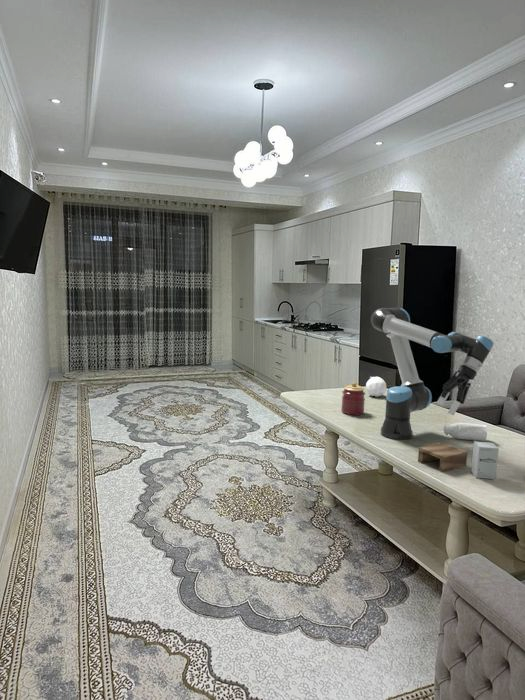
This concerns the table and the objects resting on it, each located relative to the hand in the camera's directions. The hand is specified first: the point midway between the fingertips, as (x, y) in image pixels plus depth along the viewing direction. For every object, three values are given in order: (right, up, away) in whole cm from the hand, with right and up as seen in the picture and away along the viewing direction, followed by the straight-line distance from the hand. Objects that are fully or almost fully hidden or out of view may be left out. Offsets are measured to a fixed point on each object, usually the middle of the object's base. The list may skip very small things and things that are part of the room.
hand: (444, 409), depth 216 cm
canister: (-29, -10, +63) cm, 71 cm away
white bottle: (+17, -17, +19) cm, 31 cm away
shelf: (-6, -21, -14) cm, 26 cm away
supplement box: (+5, -23, -25) cm, 35 cm away
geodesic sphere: (-6, -5, +107) cm, 107 cm away
